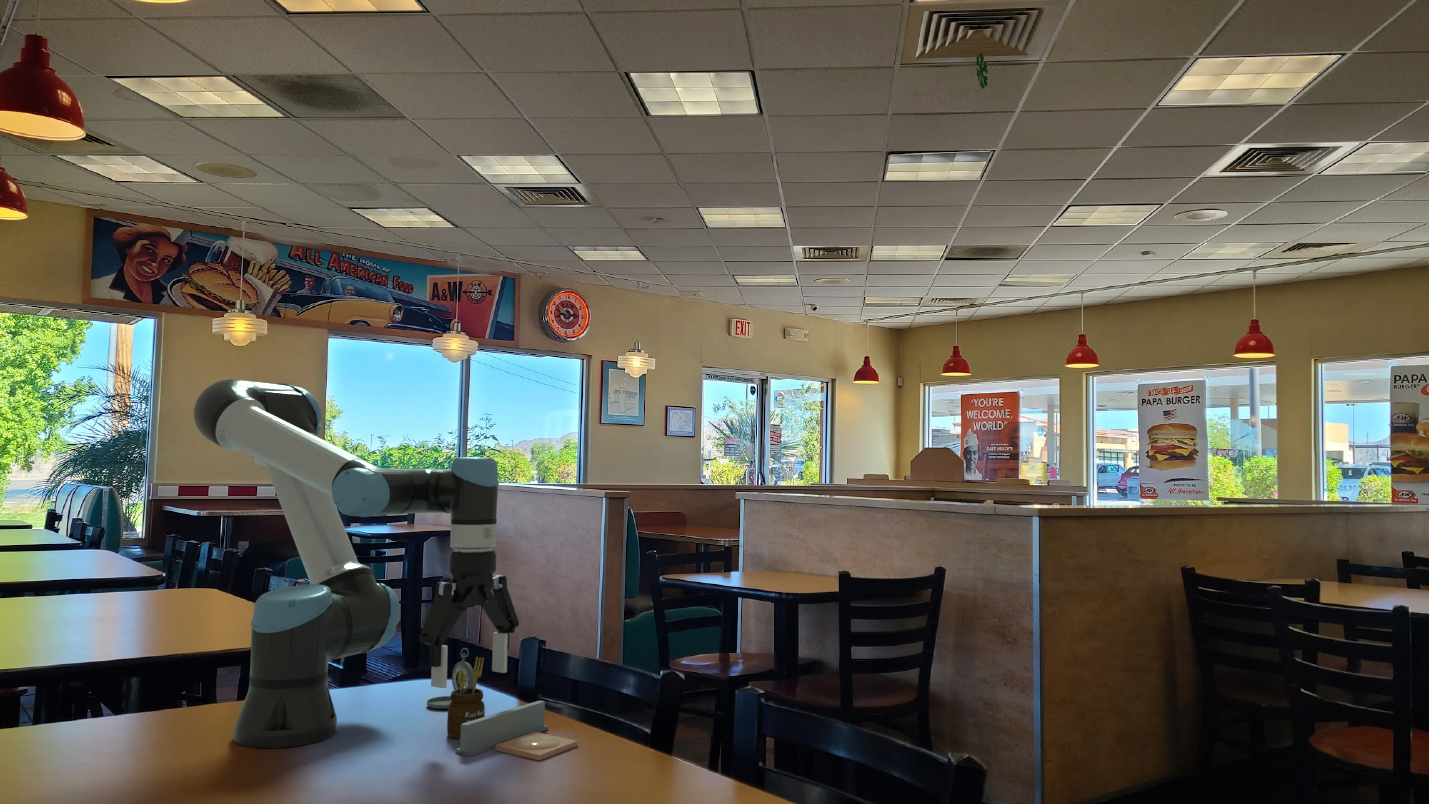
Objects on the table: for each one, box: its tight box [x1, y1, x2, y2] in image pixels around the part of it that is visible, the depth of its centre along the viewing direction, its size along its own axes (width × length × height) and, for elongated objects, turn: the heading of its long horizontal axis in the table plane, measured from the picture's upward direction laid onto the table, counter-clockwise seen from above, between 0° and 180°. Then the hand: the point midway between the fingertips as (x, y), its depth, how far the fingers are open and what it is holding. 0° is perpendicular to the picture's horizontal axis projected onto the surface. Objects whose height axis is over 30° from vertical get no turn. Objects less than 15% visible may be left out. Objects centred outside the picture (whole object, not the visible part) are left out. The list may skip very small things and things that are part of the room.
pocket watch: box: [426, 647, 475, 710], centre depth 174 cm, size 8×8×10 cm
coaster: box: [495, 732, 578, 761], centre depth 149 cm, size 9×9×1 cm
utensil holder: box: [446, 656, 486, 740], centre depth 156 cm, size 6×6×12 cm
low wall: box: [455, 700, 549, 757], centre depth 153 cm, size 3×18×4 cm, turn 149°
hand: (470, 679), depth 156 cm, fingers open, 13 cm apart
